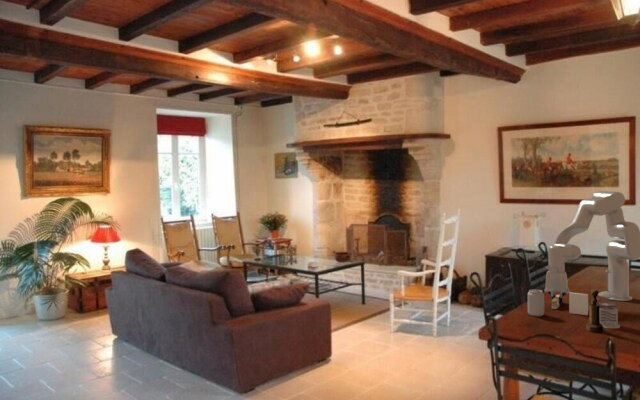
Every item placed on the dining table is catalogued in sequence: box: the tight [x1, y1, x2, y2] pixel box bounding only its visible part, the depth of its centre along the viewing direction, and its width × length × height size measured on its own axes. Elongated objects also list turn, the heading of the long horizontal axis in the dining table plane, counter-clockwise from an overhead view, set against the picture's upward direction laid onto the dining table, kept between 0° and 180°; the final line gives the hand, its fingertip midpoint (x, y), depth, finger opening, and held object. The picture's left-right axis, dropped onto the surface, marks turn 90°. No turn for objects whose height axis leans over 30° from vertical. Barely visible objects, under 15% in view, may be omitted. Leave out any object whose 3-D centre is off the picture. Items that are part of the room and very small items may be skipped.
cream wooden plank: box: [551, 293, 564, 310], centre depth 263 cm, size 16×2×4 cm, turn 145°
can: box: [527, 289, 545, 317], centre depth 247 cm, size 8×8×12 cm
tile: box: [568, 291, 589, 316], centre depth 247 cm, size 2×8×10 cm, turn 55°
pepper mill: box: [585, 288, 604, 333], centre depth 221 cm, size 7×6×18 cm
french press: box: [590, 269, 621, 329], centre depth 228 cm, size 10×12×25 cm
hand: (557, 304), depth 263 cm, fingers closed on cream wooden plank, 2 cm apart
